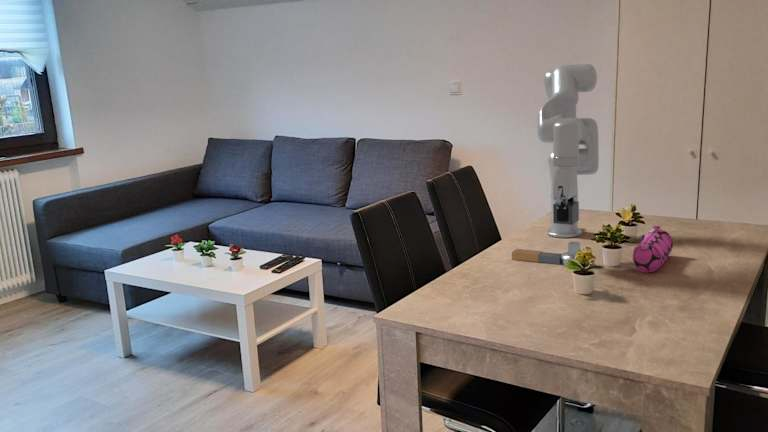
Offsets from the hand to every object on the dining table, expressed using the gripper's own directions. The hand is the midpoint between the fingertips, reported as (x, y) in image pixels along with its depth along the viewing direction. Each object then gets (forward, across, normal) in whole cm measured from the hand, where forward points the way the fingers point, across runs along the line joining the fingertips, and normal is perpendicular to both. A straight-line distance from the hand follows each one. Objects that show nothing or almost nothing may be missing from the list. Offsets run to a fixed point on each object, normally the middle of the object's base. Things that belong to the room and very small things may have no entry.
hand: (566, 218), depth 206 cm
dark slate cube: (+1, 0, 0) cm, 1 cm away
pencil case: (+16, -11, +23) cm, 30 cm away
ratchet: (+15, -1, -6) cm, 17 cm away
